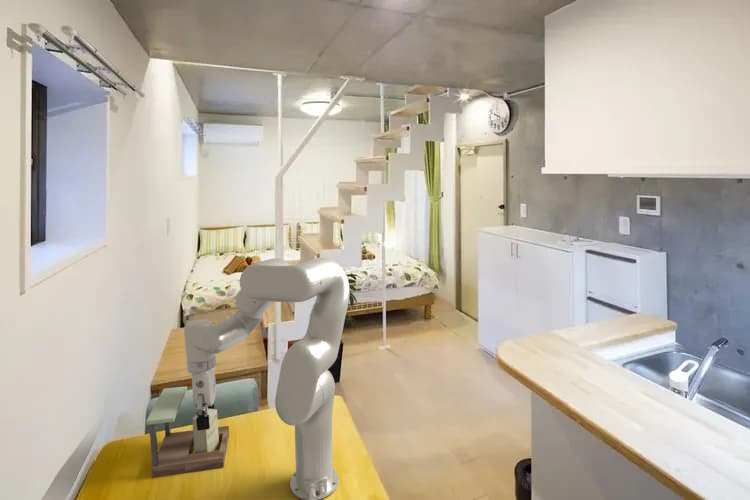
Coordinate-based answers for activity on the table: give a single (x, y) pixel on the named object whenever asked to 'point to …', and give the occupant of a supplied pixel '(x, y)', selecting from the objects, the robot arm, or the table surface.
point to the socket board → (179, 440)
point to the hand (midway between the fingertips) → (206, 420)
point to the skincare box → (206, 434)
